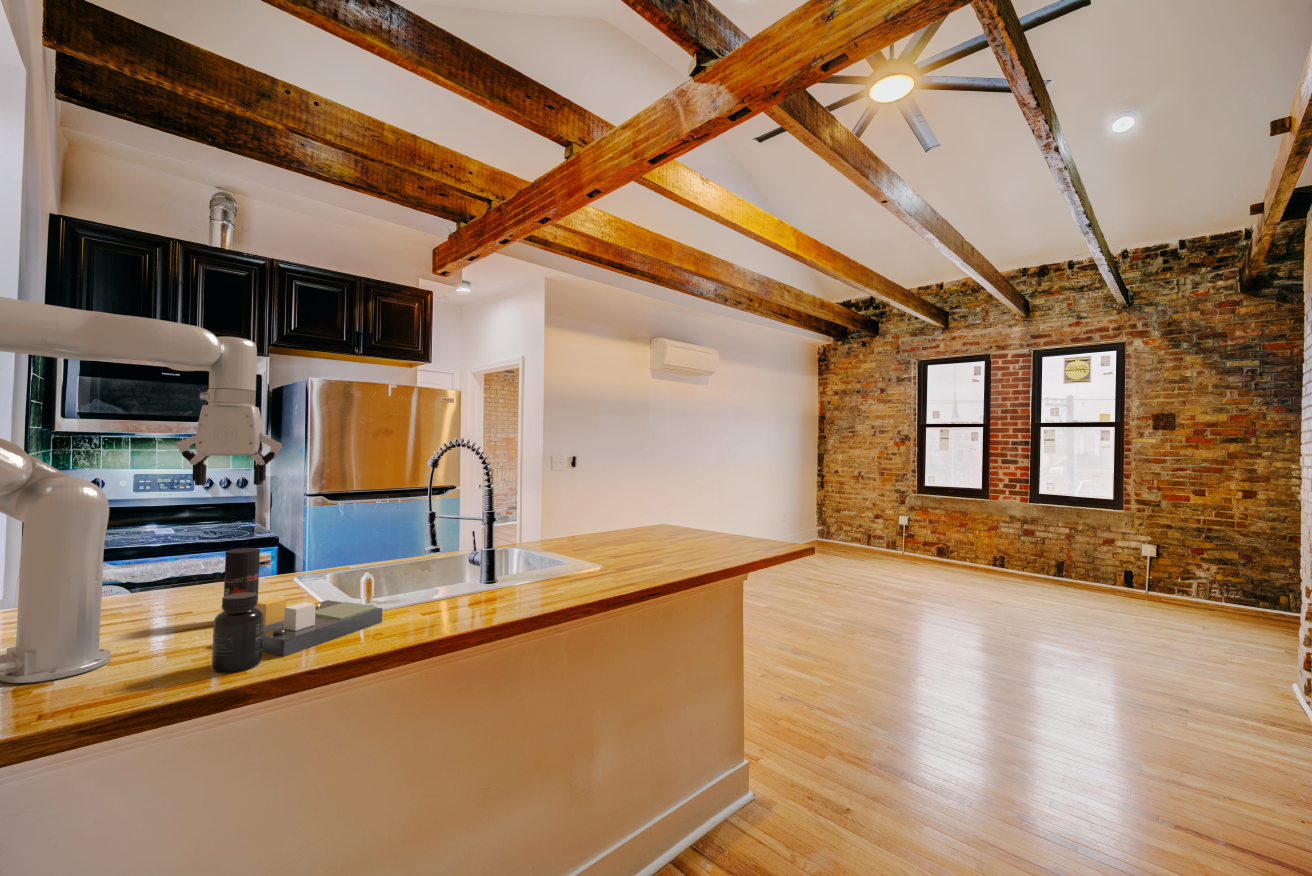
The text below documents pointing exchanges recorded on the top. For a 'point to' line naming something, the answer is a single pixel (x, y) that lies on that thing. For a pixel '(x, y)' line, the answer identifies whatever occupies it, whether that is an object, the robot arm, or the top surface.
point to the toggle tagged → (272, 610)
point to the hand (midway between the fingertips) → (229, 484)
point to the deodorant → (241, 571)
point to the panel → (320, 627)
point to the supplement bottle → (237, 634)
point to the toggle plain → (299, 616)
